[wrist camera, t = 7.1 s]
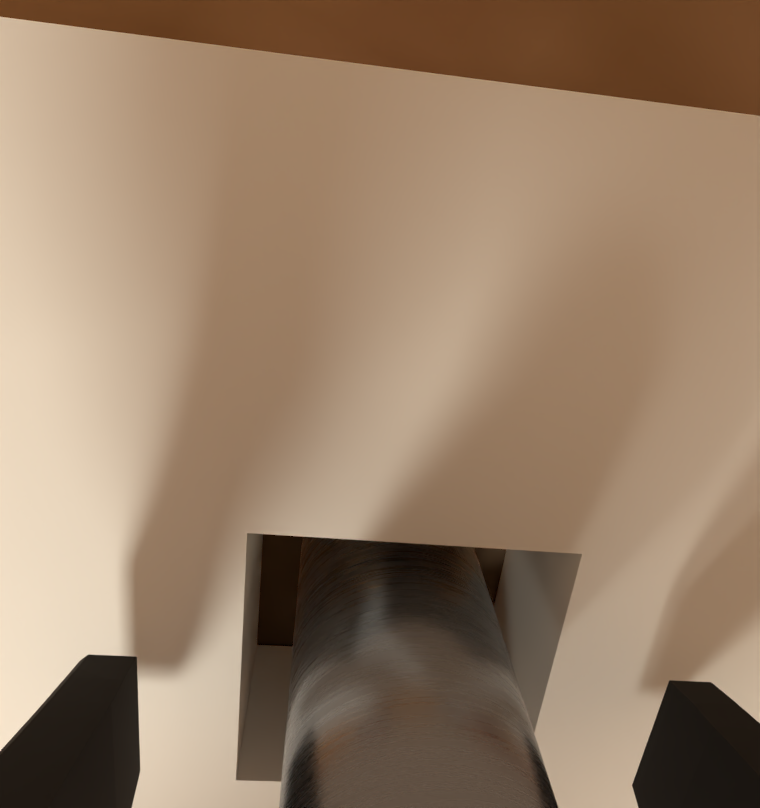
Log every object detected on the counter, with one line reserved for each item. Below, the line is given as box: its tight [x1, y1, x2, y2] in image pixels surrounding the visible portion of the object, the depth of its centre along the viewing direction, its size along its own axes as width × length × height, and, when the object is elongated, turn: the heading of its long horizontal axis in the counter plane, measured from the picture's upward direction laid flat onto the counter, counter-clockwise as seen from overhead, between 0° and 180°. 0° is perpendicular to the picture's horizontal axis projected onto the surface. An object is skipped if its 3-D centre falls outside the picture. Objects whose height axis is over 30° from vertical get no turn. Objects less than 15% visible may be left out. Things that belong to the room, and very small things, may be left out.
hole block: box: [0, 17, 760, 808], centre depth 11 cm, size 16×16×3 cm
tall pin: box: [279, 537, 558, 808], centre depth 9 cm, size 3×3×8 cm
